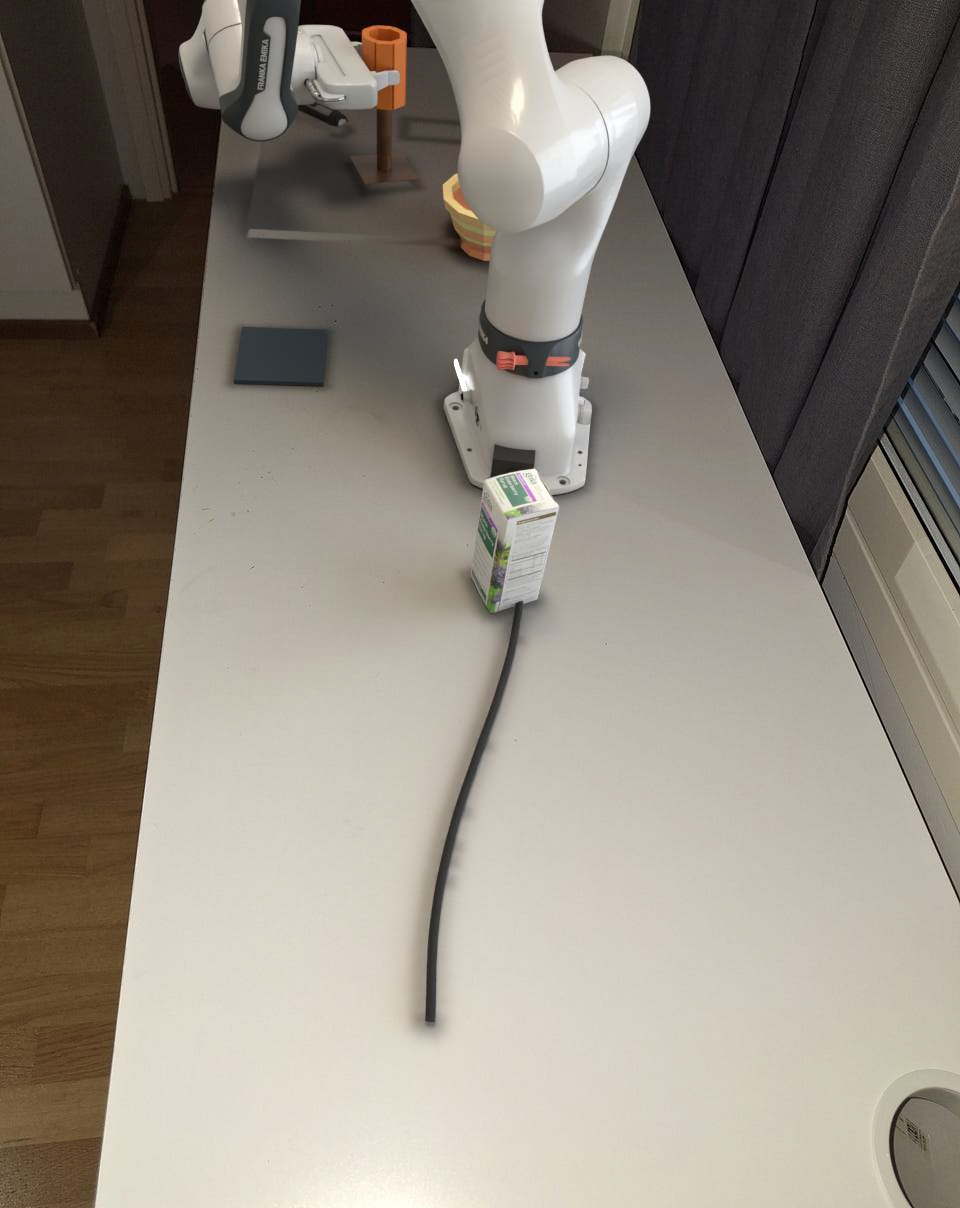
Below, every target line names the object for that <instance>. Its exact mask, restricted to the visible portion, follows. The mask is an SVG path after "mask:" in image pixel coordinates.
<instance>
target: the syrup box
mask: <svg viewBox="0 0 960 1208" xmlns="http://www.w3.org/2000/svg"><path fill="white" fill-rule="evenodd" d="M559 510H560V505H559V504H558V503H557V502H556V500H555V499H554V497H553V495H551V493H550V491H549V489H548V488H547V486H546V484H545V483H544V481H543V480H542V479H541V477H540V475H539V474H538V472H537V470H536V469H529V470H522V471H516V472H511V473H507V474H503V475H499V476H496V477H492V478H489V479H486V480H484V486H483V489H482V494H481V501H480V509H479V515H478V520H477V521H478V522H477V529H476V533H475V534H476V535H475V542H474V547H473V557H472V564H471V570H470V578H471V579H472V581H473V583H474V585H475V588H476V590H477V592H478V594H479V595H480V597H481V600H482V602H483V603H484V605H485V607H486V609H487V610H488V612H489V614H494V613H497V612H501V611H504V610H505V611H506V610H508V609H512V608H515V605H516V603H517V602H519V601H523V605H524V604H527V603H531V602H535V601H537V600H538V599H539V595H540V590H541V586H542V582H543V577H544V573H545V569H546V565H547V560H548V556H549V552H550V548H551V543H552V539H553V534H554V531H555V526H556V523H557V519H558V514H559Z"/></svg>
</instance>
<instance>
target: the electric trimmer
mask: <svg viewBox="0 0 960 1208" xmlns="http://www.w3.org/2000/svg"><path fill="white" fill-rule="evenodd" d="M297 106H298V112H299V111H300V112H302V113H304V114H307V115H309V116H312V117H315V118H317V119H319V120H321V121H323V122H325V123H327V124H328V125H329V126H334V127H336V128H338V127H339V126H342V125H344V124H345V123H348V122H349V119H348V117H347V116H346V115H345V114H344V113H342V112H341V111H340V109H332V108H329V107H327V106H325V105H324V104H321V103H318V102H316V101H315V102H314V104H306V105H297Z"/></svg>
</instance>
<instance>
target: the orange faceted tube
mask: <svg viewBox="0 0 960 1208" xmlns="http://www.w3.org/2000/svg"><path fill="white" fill-rule="evenodd" d="M407 35H408V34H407V32H406V31H405V30H402V29H400V28H398V27H395V26H393V25H392V26H391V25H379V24H377V25H371V26H368V27H366V28H365V27H364V28H363V29H362V30H361V43H362V60H363V62H364V63H365V65H366V66H367V68H368V69H369V71H376V72H377V73H378V72H382V71H385V68H396V69H397V71H398V72H399V74H400V82H399V84H397V85H388V86H387V87H385V88H383V89H381V90H379V91H377V93H378V95H377V105H376V106H375V107H373V108H372V109H384V110H392V111H393V110H397V109H399V108H402V107H404V106H405V105H406V100H407V99H406V97H407V44H408V39H407V37H408V36H407Z"/></svg>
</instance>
